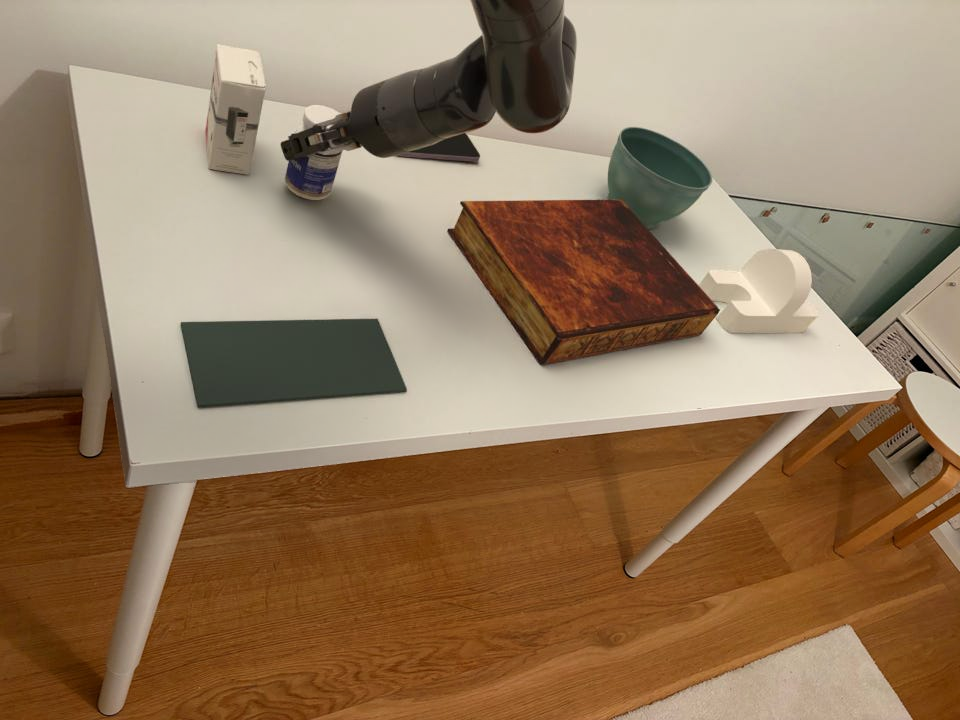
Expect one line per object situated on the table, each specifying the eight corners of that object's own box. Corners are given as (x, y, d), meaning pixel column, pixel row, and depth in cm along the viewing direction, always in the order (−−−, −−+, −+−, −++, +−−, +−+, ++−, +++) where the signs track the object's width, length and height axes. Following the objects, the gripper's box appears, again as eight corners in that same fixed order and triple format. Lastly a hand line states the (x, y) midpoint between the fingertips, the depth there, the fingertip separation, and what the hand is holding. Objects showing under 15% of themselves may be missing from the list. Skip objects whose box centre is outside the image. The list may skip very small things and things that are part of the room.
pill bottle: (280, 170, 89) (296, 98, 83) (325, 176, 92) (344, 106, 86) (288, 199, 86) (305, 126, 79) (335, 204, 89) (355, 133, 82)
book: (541, 366, 84) (560, 337, 80) (447, 231, 95) (460, 200, 92) (700, 336, 101) (721, 311, 98) (604, 224, 112) (620, 198, 109)
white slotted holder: (692, 287, 110) (735, 231, 103) (770, 289, 119) (815, 239, 112) (727, 333, 104) (774, 278, 97) (806, 332, 113) (854, 282, 106)
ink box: (203, 129, 90) (215, 39, 83) (244, 136, 92) (259, 49, 85) (207, 170, 85) (220, 78, 77) (250, 176, 87) (266, 88, 80)
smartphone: (375, 122, 106) (464, 130, 114) (374, 128, 107) (462, 136, 114) (391, 151, 102) (482, 158, 110) (389, 158, 103) (480, 164, 110)
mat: (197, 408, 63) (197, 405, 62) (180, 324, 68) (180, 321, 68) (406, 392, 73) (407, 389, 73) (376, 320, 79) (377, 318, 78)
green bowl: (568, 184, 117) (600, 126, 110) (630, 179, 127) (663, 125, 120) (632, 249, 110) (671, 192, 103) (692, 238, 121) (730, 185, 114)
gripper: (437, 69, 80) (338, 105, 90) (346, 85, 69) (245, 124, 80) (456, 137, 82) (356, 165, 93) (370, 163, 72) (269, 191, 82)
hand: (305, 146), depth 86 cm, fingers closed on pill bottle, 5 cm apart
